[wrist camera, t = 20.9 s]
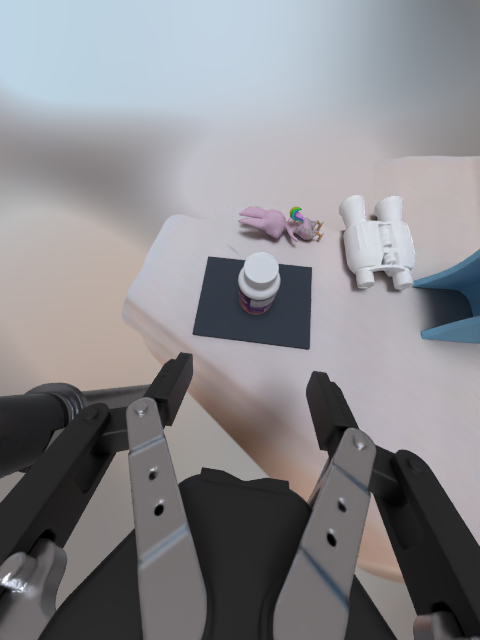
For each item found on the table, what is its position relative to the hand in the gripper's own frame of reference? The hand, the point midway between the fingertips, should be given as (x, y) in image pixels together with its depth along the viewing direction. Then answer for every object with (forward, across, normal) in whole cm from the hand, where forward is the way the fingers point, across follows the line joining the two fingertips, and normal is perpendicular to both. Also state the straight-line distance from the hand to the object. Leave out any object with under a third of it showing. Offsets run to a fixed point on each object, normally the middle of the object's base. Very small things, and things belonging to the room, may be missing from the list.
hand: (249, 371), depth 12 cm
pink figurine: (+30, -3, -7) cm, 31 cm away
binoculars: (+28, -19, -6) cm, 34 cm away
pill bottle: (+19, 0, +3) cm, 19 cm away
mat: (+20, 0, +3) cm, 20 cm away
